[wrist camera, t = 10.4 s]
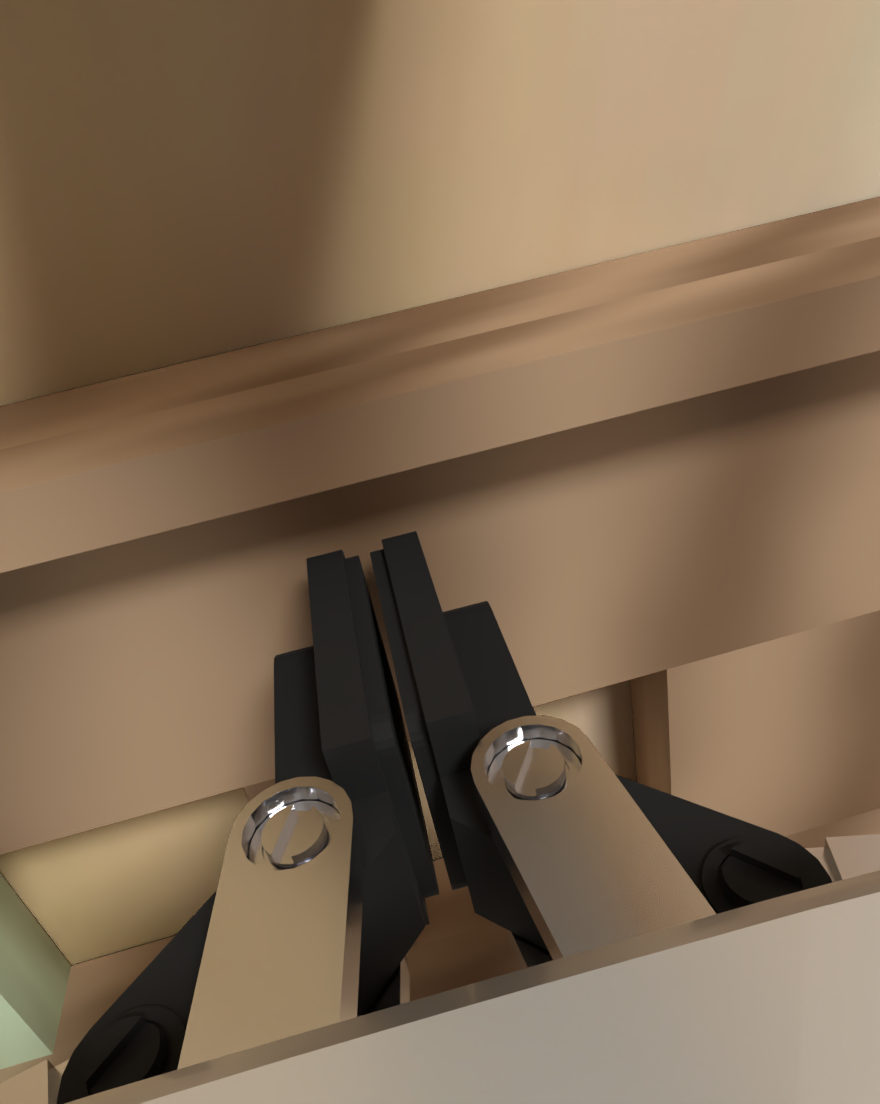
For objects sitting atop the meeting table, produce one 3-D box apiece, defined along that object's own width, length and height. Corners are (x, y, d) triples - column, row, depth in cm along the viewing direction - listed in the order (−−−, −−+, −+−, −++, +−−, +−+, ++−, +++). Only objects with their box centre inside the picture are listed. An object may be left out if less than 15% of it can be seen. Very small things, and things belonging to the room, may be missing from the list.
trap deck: (1190, 122, 14) (1553, 140, 10) (1019, 716, 21) (1187, 857, 17) (-699, 573, 11) (-1172, 819, 8) (-145, 1056, 19) (-245, 1303, 15)
